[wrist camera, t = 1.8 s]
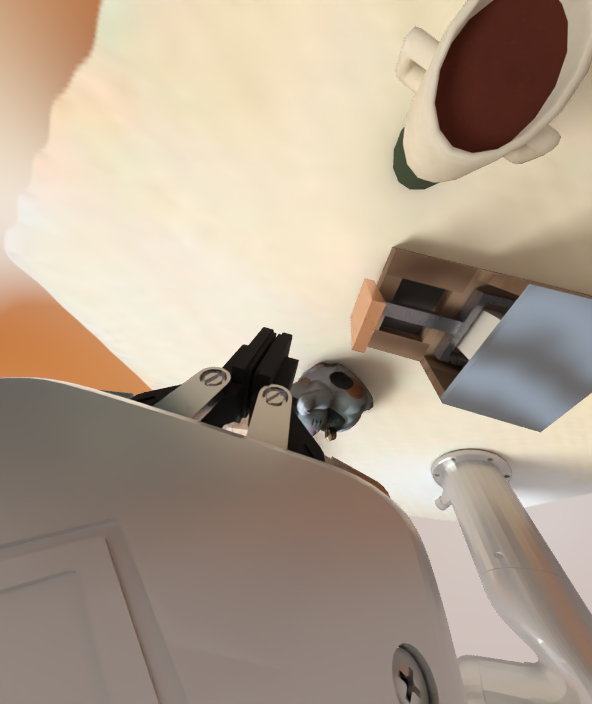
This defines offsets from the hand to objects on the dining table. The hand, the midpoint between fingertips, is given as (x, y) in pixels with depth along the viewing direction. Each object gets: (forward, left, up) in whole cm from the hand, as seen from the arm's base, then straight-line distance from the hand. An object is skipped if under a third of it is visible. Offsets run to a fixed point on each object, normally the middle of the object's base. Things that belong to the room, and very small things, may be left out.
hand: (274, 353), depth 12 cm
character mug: (+15, -7, -21) cm, 27 cm away
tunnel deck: (0, -22, -21) cm, 30 cm away
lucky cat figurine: (-19, -6, -21) cm, 29 cm away
